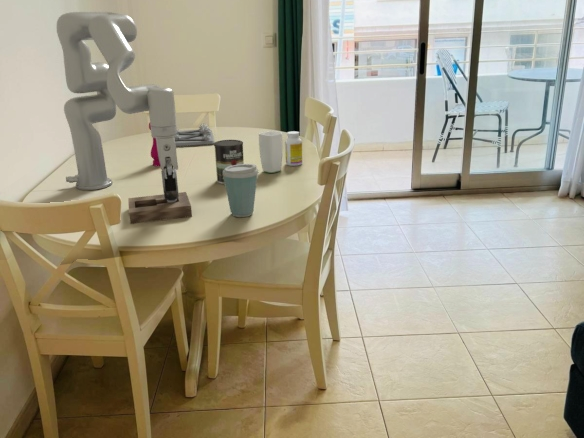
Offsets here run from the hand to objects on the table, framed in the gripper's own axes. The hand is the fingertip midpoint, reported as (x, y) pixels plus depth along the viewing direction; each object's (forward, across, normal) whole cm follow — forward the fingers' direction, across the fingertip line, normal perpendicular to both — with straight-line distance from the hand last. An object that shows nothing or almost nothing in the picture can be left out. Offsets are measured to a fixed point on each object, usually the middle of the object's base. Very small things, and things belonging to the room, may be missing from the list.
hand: (169, 186), depth 165 cm
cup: (+8, +32, -40) cm, 52 cm away
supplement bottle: (+8, +39, -51) cm, 65 cm away
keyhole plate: (+8, 0, +4) cm, 9 cm away
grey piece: (+10, +101, -17) cm, 103 cm away
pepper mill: (+9, +59, 0) cm, 59 cm away
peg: (+8, 0, 0) cm, 8 cm away
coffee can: (+8, +26, -23) cm, 36 cm away
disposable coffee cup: (+8, -10, -20) cm, 24 cm away
